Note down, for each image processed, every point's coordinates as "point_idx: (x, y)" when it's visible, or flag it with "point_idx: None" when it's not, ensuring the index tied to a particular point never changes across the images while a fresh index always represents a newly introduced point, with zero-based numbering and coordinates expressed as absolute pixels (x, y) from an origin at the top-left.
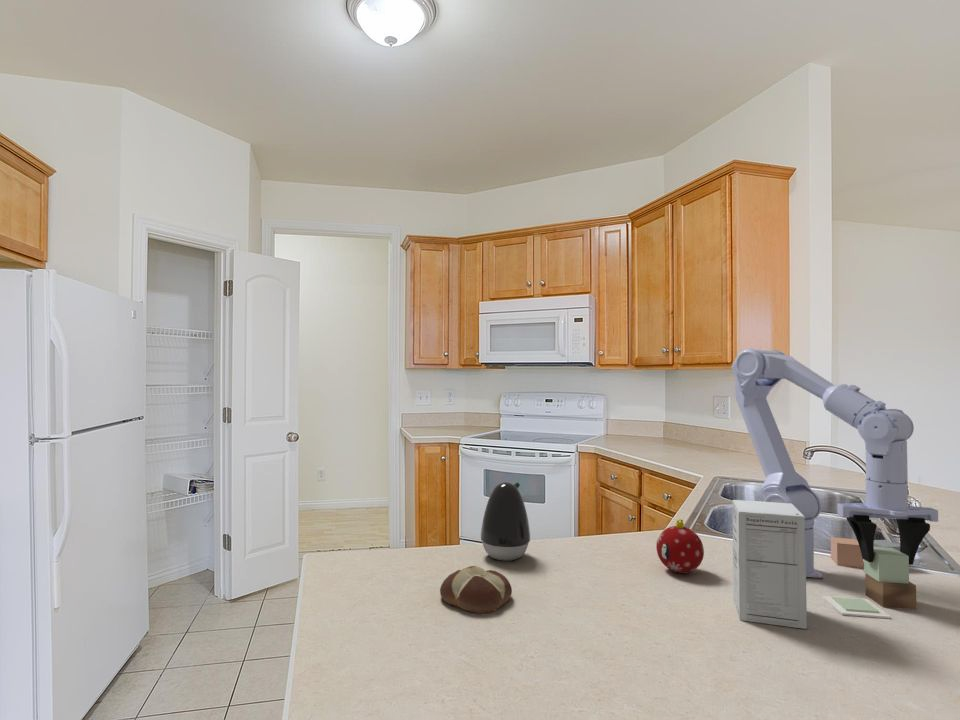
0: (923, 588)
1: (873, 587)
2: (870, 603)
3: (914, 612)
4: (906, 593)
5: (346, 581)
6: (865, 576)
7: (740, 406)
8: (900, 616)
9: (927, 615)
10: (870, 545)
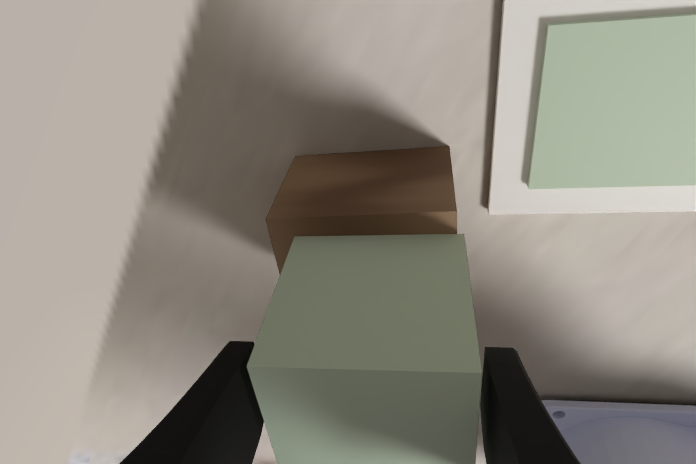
0: (183, 362)
1: None
2: (506, 158)
3: (321, 114)
4: (326, 189)
5: None
6: None
7: None
8: (423, 36)
9: (274, 89)
10: (543, 457)
